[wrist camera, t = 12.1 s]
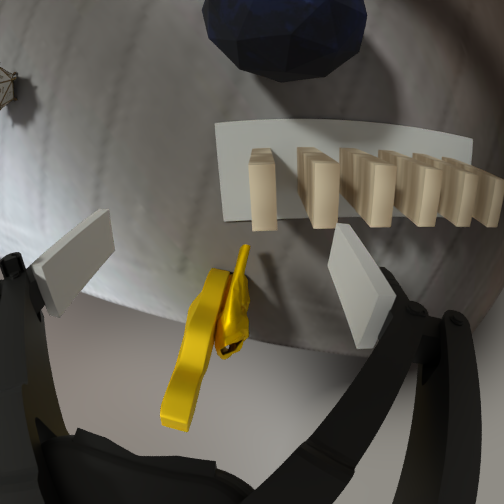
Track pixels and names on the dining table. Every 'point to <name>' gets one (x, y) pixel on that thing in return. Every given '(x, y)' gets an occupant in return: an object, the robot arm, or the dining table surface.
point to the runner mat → (324, 139)
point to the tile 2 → (318, 186)
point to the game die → (6, 87)
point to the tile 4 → (415, 188)
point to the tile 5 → (454, 190)
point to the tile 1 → (262, 190)
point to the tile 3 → (368, 185)
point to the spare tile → (484, 194)
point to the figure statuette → (207, 339)
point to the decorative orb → (286, 35)
